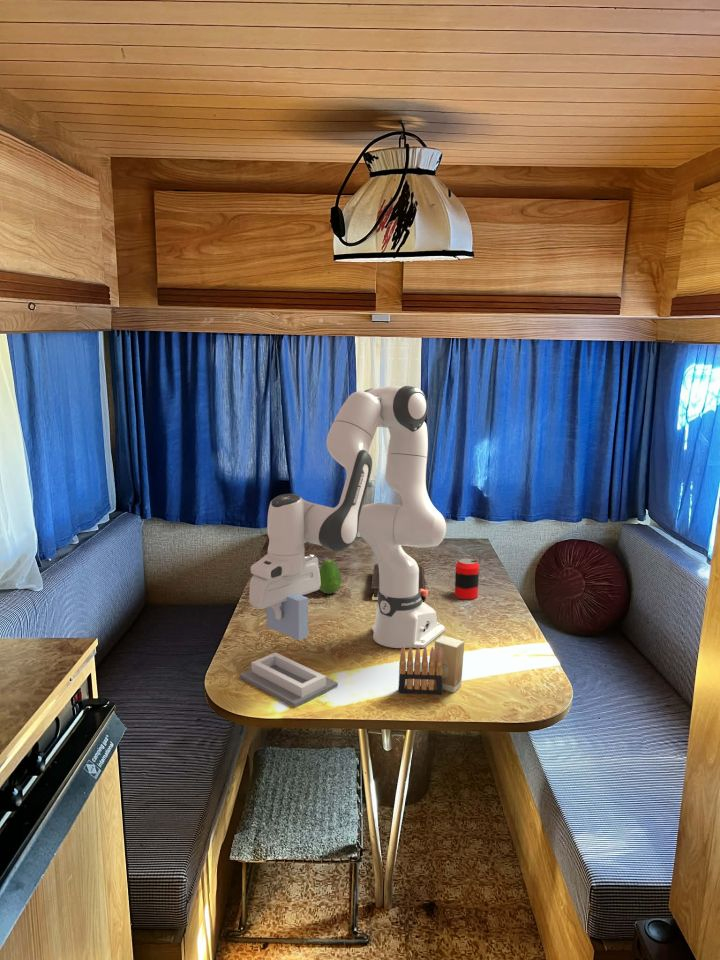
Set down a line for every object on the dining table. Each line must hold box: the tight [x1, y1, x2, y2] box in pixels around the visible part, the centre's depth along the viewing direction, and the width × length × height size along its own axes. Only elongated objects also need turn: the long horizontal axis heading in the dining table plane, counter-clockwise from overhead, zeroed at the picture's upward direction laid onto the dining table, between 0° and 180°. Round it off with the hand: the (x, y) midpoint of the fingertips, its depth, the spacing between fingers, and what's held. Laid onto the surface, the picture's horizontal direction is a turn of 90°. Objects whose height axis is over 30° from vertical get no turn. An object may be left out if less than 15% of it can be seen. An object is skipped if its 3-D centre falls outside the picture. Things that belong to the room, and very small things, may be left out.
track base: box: [239, 652, 339, 708], centre depth 181 cm, size 14×21×4 cm, turn 47°
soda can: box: [454, 558, 480, 600], centre depth 239 cm, size 8×8×12 cm
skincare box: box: [433, 634, 465, 693], centre depth 179 cm, size 6×4×12 cm
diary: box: [370, 563, 427, 602], centre depth 246 cm, size 19×25×5 cm
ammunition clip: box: [397, 646, 443, 696], centre depth 176 cm, size 11×2×12 cm, turn 86°
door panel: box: [265, 594, 309, 641], centre depth 177 cm, size 3×12×10 cm, turn 47°
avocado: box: [319, 558, 342, 595], centre depth 240 cm, size 8×8×12 cm
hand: (286, 615), depth 177 cm, fingers closed on door panel, 3 cm apart
